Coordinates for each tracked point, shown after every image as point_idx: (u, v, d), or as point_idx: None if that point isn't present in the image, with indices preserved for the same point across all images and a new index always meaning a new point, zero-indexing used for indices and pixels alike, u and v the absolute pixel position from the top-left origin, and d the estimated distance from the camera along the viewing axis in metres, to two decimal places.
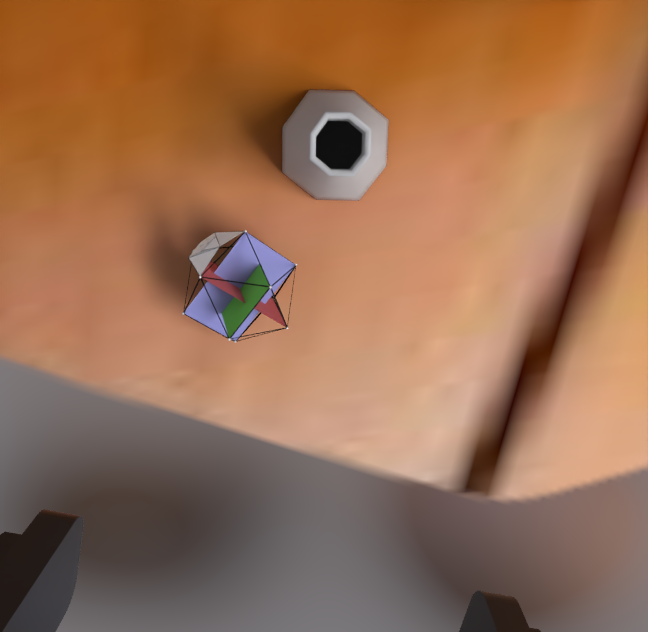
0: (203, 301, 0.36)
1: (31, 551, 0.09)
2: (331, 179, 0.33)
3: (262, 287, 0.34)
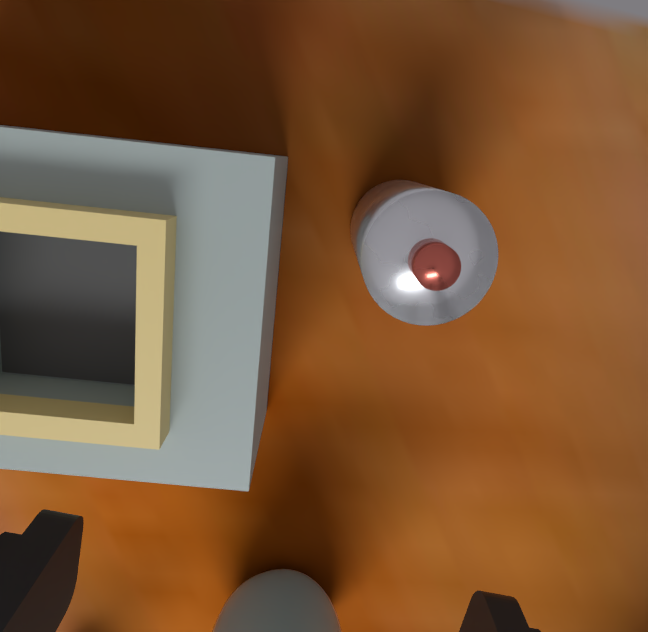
0: None
1: (31, 551, 0.09)
2: None
3: None
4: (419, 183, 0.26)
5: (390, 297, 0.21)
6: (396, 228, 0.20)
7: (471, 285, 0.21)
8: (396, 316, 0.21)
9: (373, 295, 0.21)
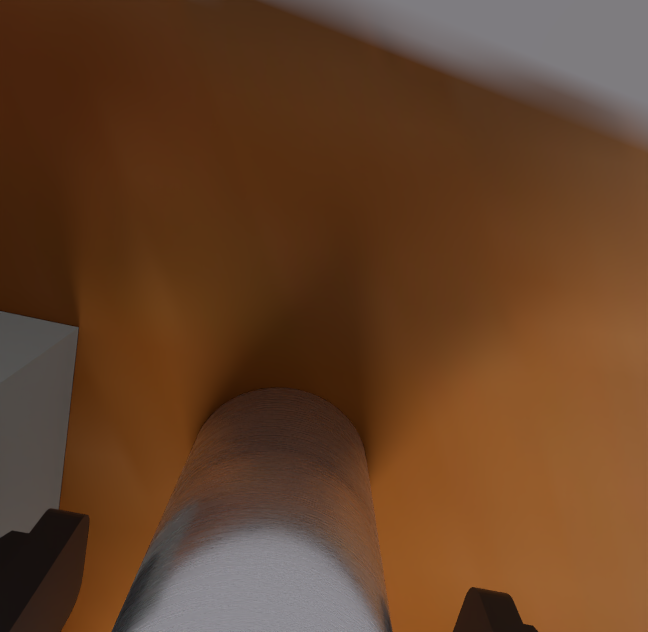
0: None
1: (38, 549, 0.09)
2: None
3: None
4: (303, 443, 0.13)
5: None
6: None
7: None
8: None
9: None
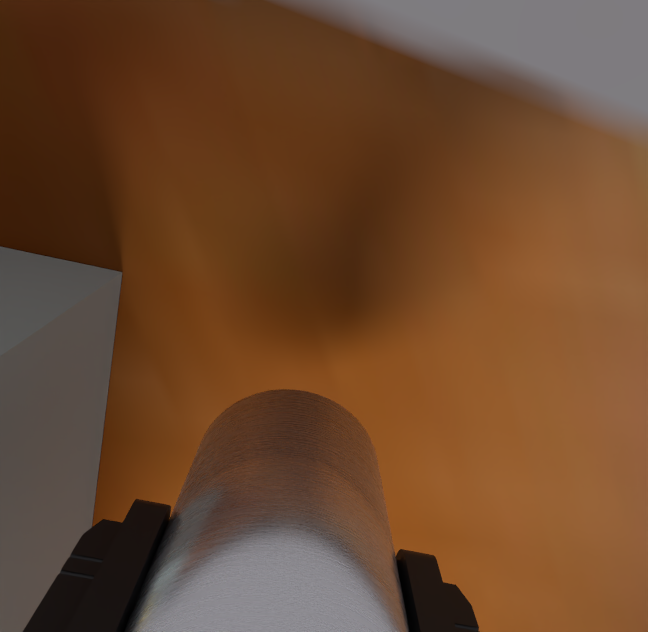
0: None
1: (135, 536, 0.10)
2: None
3: None
4: (314, 449, 0.12)
5: None
6: None
7: None
8: None
9: None
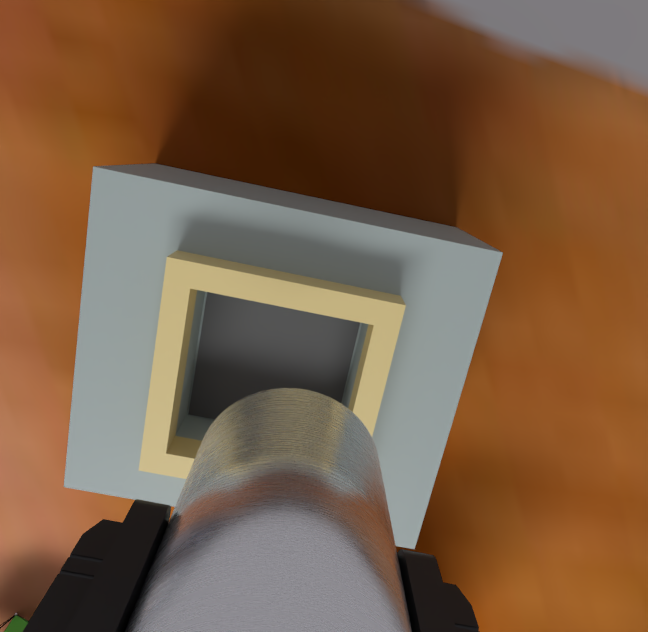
0: None
1: (135, 536, 0.10)
2: None
3: None
4: (316, 448, 0.12)
5: None
6: None
7: None
8: None
9: None
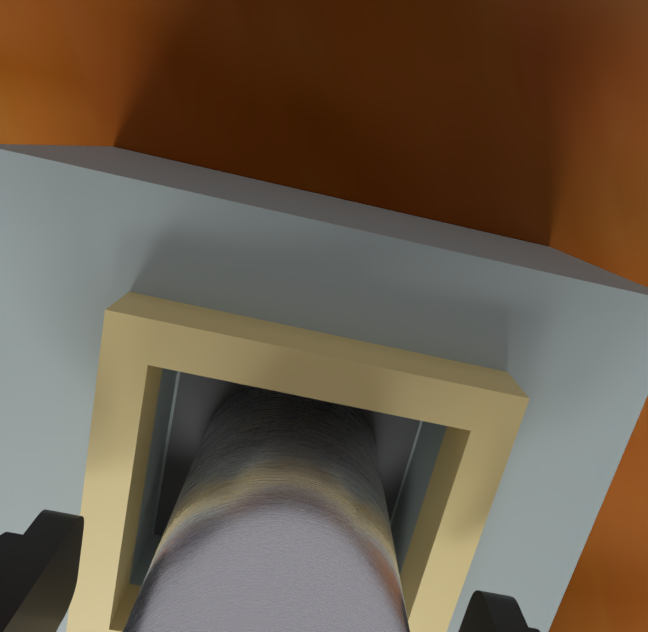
0: None
1: (32, 551, 0.09)
2: None
3: None
4: (315, 432, 0.13)
5: None
6: None
7: None
8: None
9: None
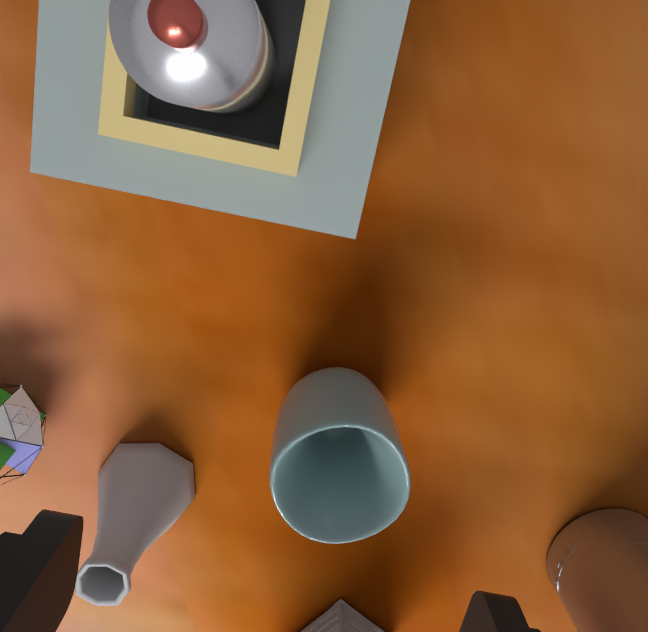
0: None
1: (31, 551, 0.09)
2: None
3: None
4: None
5: (142, 67, 0.19)
6: None
7: (231, 61, 0.19)
8: (149, 91, 0.19)
9: (123, 63, 0.19)
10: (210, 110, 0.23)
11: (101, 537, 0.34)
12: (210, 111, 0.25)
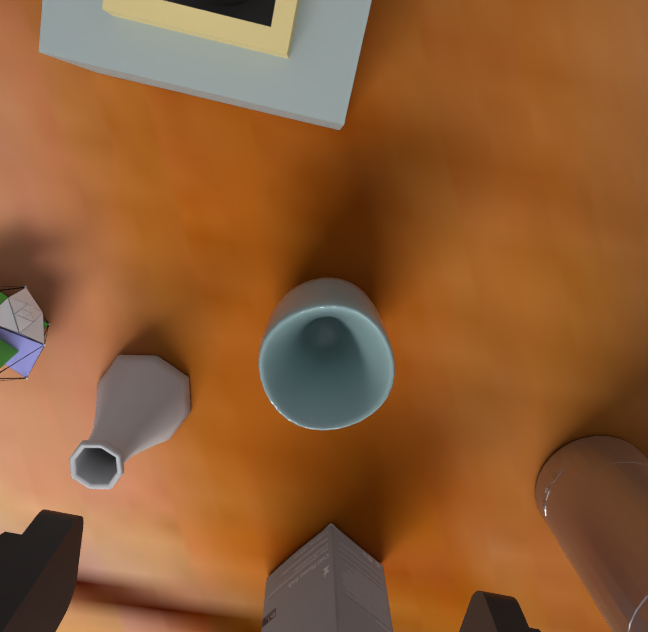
0: None
1: (31, 551, 0.09)
2: None
3: None
4: None
5: None
6: None
7: None
8: None
9: None
10: None
11: (97, 428, 0.35)
12: None
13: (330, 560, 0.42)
